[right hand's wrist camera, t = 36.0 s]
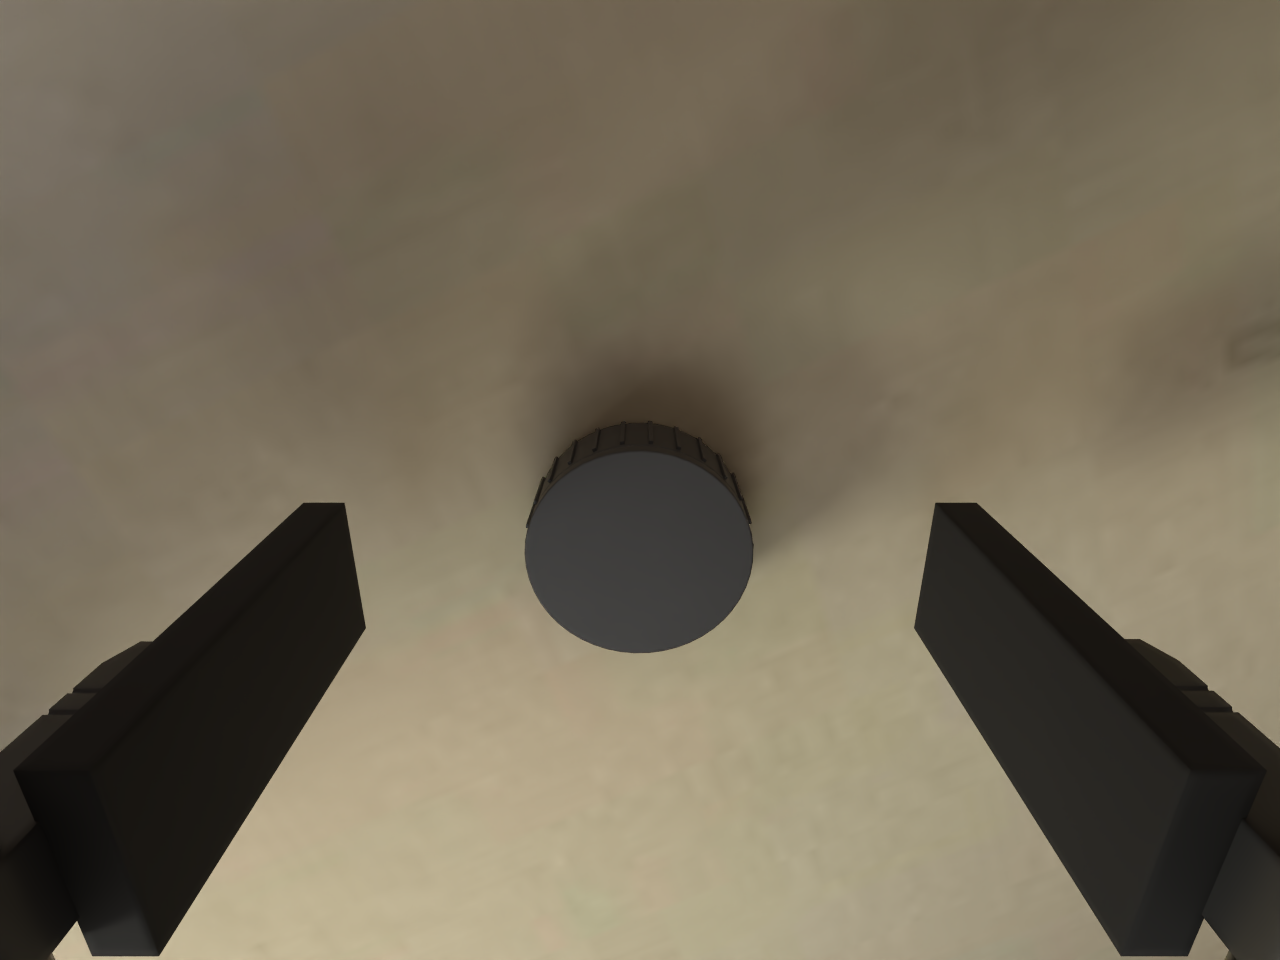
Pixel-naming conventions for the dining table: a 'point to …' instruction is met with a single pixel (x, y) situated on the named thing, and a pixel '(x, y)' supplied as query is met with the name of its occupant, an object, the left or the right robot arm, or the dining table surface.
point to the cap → (639, 539)
